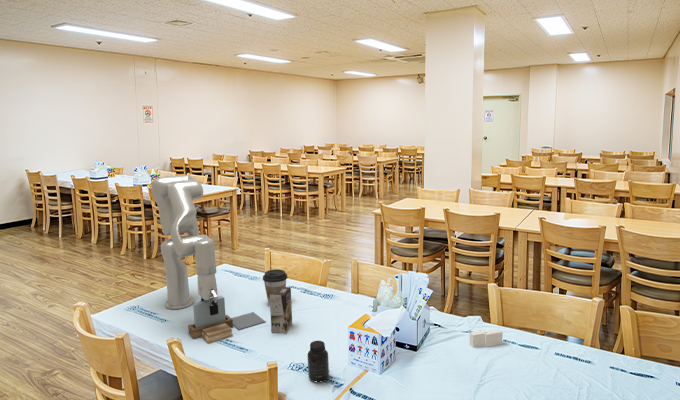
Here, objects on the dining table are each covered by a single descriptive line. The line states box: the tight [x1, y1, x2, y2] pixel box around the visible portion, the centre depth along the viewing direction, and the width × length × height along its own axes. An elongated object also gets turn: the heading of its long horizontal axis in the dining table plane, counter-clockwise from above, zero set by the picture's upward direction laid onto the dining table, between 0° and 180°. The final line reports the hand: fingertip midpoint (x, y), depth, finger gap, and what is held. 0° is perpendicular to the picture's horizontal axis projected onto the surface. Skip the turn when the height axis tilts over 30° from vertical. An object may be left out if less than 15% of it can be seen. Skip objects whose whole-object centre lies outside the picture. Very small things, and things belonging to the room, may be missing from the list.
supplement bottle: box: [307, 340, 330, 383], centre depth 154 cm, size 7×7×12 cm
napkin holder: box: [469, 328, 504, 348], centre depth 174 cm, size 15×11×6 cm
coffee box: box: [269, 286, 293, 334], centre depth 190 cm, size 9×6×16 cm
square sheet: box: [192, 295, 227, 329], centre depth 190 cm, size 2×12×13 cm, turn 125°
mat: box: [230, 311, 267, 331], centre depth 198 cm, size 12×12×1 cm
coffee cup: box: [262, 268, 288, 306], centre depth 215 cm, size 11×11×15 cm
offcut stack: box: [201, 323, 234, 345], centre depth 185 cm, size 7×10×4 cm
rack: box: [187, 314, 234, 340], centre depth 190 cm, size 6×16×4 cm, turn 125°
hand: (210, 310), depth 189 cm, fingers open, 9 cm apart
